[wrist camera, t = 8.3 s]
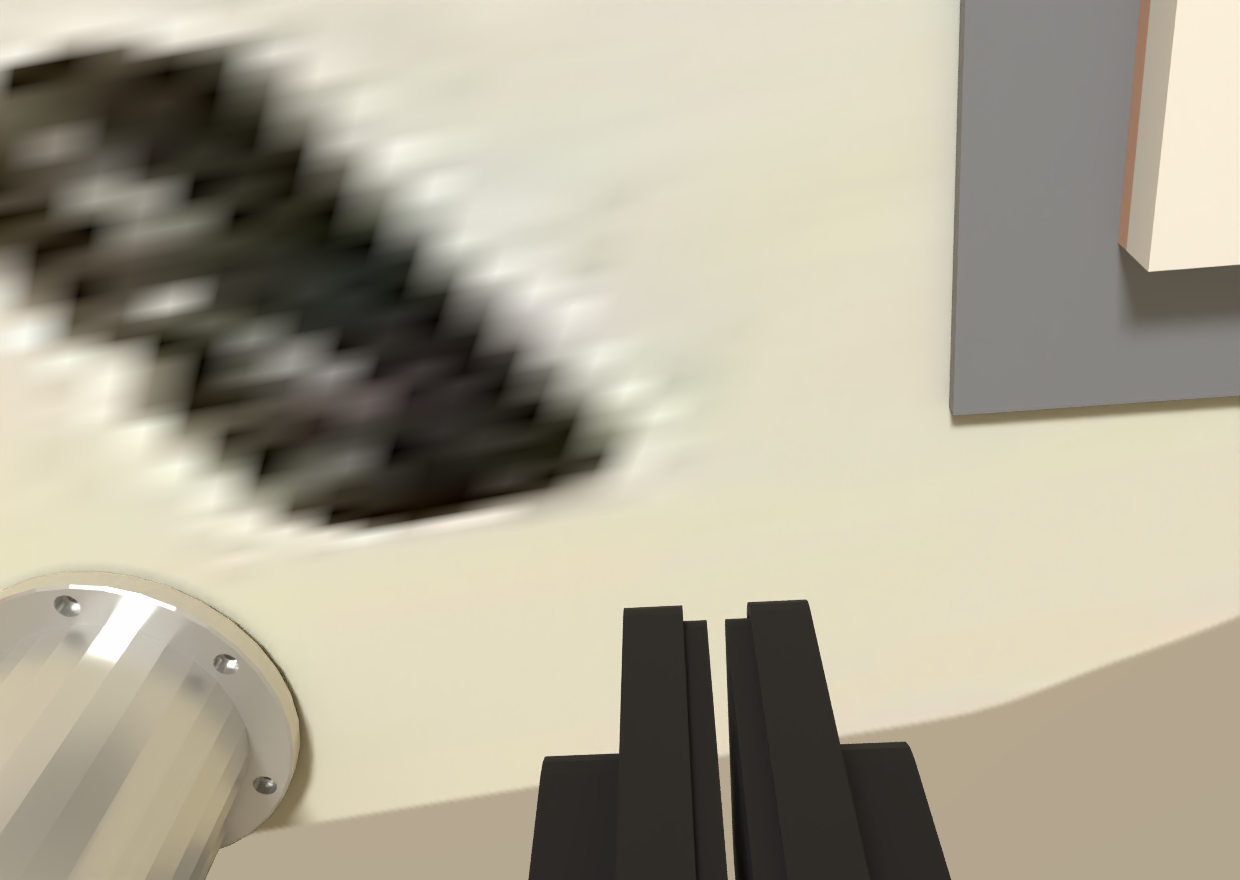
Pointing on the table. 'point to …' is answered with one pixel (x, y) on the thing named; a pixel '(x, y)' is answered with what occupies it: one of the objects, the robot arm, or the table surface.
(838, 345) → the table surface
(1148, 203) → the tile
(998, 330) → the mat
